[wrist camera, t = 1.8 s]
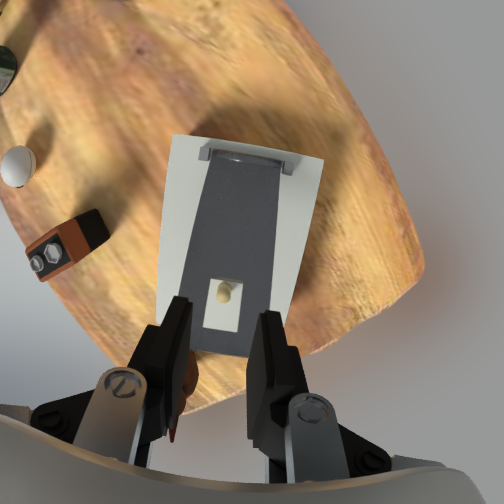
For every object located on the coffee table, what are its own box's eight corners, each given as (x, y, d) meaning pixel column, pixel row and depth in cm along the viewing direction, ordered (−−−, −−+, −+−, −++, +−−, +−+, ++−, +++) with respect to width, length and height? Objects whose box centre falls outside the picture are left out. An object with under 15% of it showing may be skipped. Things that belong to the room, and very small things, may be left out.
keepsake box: (186, 137, 29) (168, 132, 22) (309, 158, 30) (329, 160, 23) (167, 298, 36) (151, 332, 28) (274, 314, 37) (281, 351, 30)
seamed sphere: (14, 173, 29) (-11, 179, 24) (26, 138, 28) (1, 139, 22) (44, 198, 31) (19, 207, 25) (58, 161, 29) (32, 165, 24)
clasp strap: (213, 155, 25) (214, 145, 24) (279, 166, 25) (281, 157, 24) (170, 346, 17) (168, 344, 16) (262, 360, 18) (265, 358, 17)
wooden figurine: (207, 363, 40) (196, 447, 25) (175, 373, 40) (156, 452, 26) (183, 329, 37) (159, 413, 23) (151, 341, 38) (119, 420, 24)
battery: (112, 237, 33) (72, 267, 23) (77, 256, 34) (35, 288, 24) (97, 206, 31) (52, 227, 22) (63, 228, 32) (17, 253, 23)
